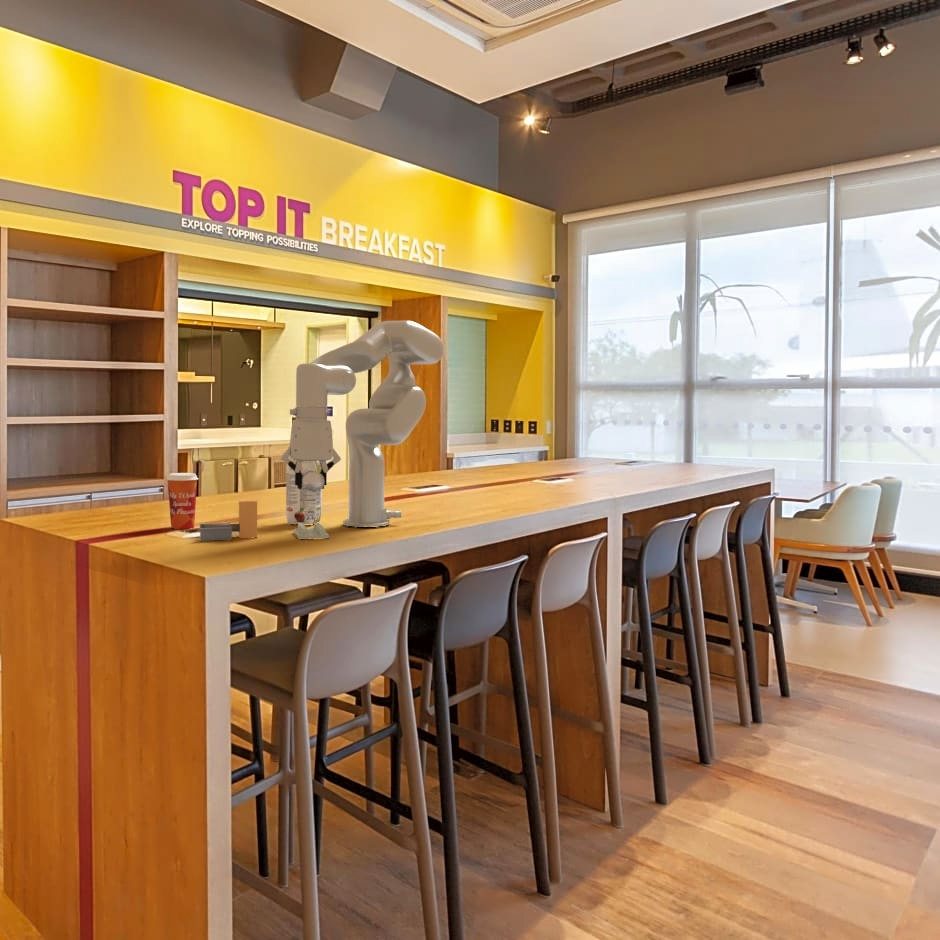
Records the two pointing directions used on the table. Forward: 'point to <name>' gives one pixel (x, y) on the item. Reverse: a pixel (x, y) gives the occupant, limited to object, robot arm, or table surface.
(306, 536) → the cradle
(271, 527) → the table surface
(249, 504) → the grey base tan upright
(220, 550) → the table surface
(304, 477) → the axle
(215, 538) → the channel block
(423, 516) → the table surface
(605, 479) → the table surface
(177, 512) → the paper cup
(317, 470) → the juice carton
